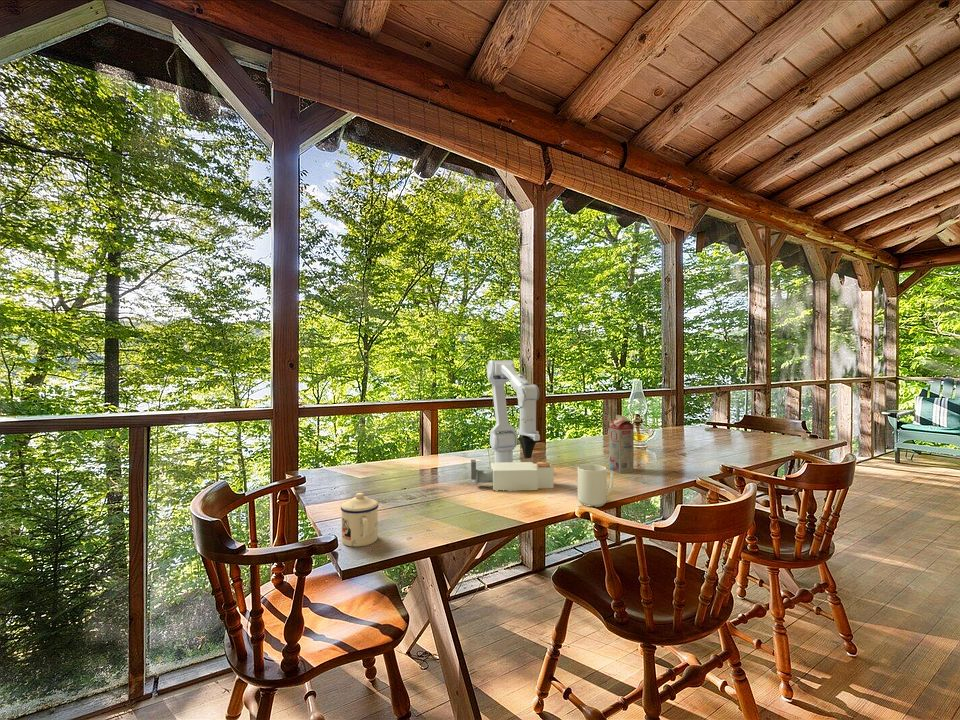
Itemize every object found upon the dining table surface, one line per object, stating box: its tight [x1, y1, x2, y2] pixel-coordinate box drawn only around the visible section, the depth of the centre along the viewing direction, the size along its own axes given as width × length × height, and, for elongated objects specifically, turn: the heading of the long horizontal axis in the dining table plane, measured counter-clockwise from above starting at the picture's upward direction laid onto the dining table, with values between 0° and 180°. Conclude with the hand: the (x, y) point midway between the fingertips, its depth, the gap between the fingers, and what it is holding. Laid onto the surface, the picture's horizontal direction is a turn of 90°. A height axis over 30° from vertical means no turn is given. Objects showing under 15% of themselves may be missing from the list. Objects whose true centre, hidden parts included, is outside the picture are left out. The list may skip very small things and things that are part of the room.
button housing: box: [490, 461, 555, 492], centre depth 167 cm, size 12×21×7 cm, turn 93°
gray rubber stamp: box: [470, 459, 493, 485], centre depth 167 cm, size 5×12×8 cm, turn 93°
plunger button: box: [536, 461, 551, 467], centre depth 168 cm, size 5×5×4 cm
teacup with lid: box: [340, 492, 380, 548], centre depth 117 cm, size 12×9×12 cm
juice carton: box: [608, 414, 635, 474], centre depth 189 cm, size 7×7×22 cm
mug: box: [577, 463, 615, 508], centre depth 148 cm, size 12×9×11 cm
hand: (527, 457), depth 167 cm, fingers closed
